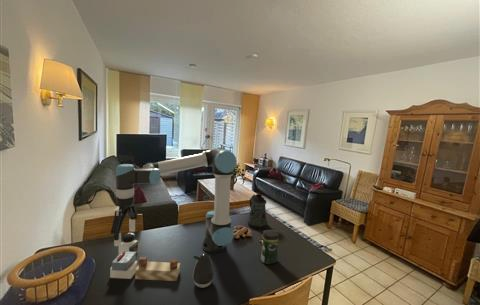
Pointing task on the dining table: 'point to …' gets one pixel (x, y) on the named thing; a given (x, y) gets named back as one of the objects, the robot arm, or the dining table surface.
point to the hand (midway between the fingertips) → (125, 238)
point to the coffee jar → (269, 246)
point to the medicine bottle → (129, 243)
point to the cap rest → (124, 272)
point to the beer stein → (257, 212)
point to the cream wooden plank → (157, 270)
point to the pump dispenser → (203, 271)
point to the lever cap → (123, 261)
